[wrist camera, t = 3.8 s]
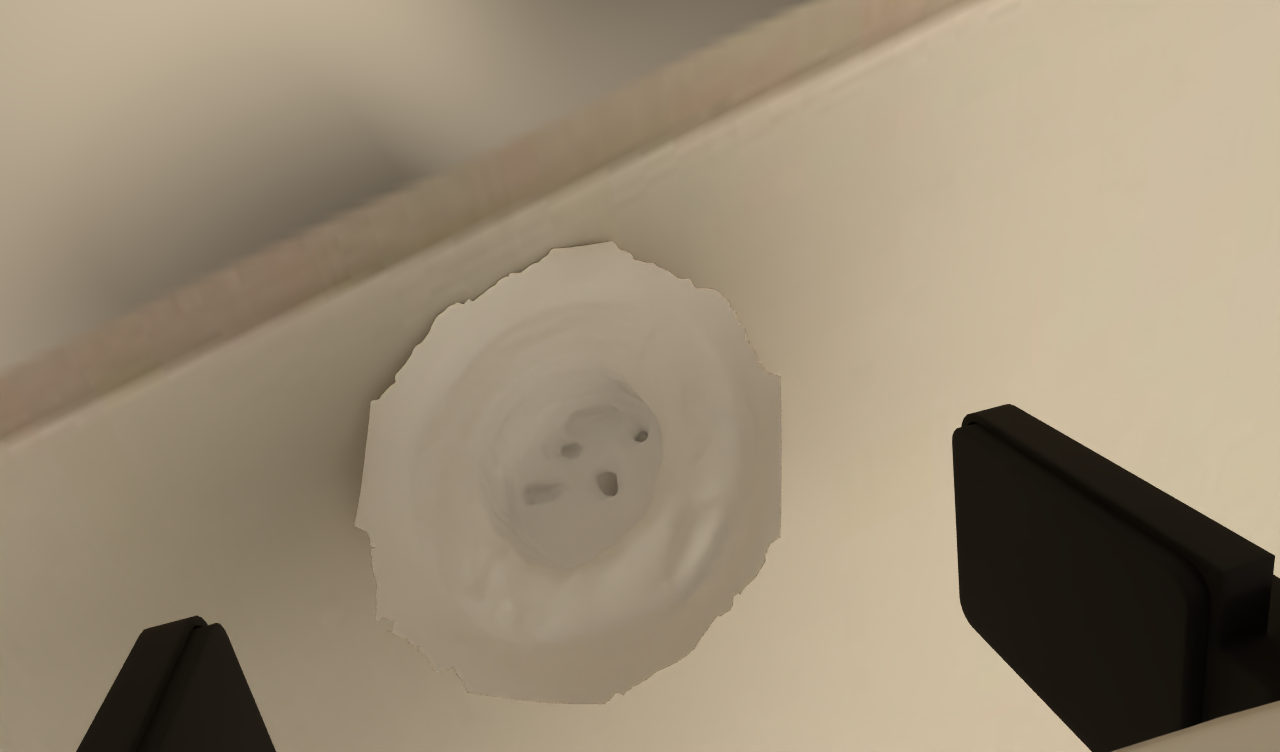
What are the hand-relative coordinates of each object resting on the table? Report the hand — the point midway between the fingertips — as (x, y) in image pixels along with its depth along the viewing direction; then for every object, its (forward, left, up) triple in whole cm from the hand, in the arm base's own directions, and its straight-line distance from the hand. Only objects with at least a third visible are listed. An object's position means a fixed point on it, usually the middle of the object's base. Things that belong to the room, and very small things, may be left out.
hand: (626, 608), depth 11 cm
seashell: (0, 0, -8) cm, 8 cm away
